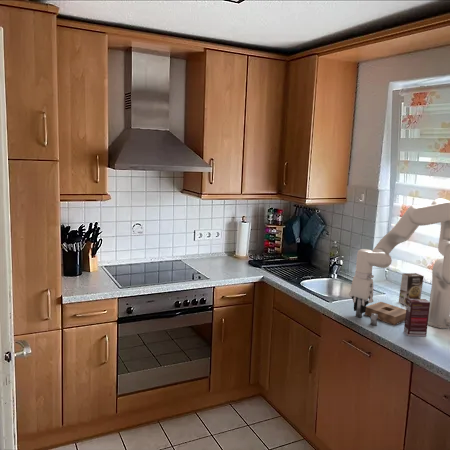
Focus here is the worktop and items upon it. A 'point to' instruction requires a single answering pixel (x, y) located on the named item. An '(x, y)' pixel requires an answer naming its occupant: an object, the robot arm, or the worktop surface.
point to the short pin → (374, 319)
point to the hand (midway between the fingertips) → (359, 311)
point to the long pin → (358, 308)
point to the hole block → (386, 312)
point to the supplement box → (416, 317)
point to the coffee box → (410, 287)
